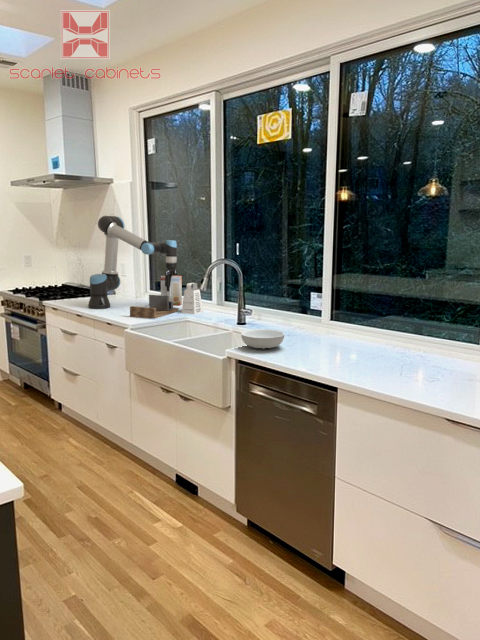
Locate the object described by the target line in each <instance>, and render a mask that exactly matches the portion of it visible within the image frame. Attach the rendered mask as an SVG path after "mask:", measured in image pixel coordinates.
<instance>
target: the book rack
mask: <svg viewBox="0 0 480 640" xmlns="http://www.w3.org/2000/svg"><path fill="white" fill-rule="evenodd" d="M177 312H179V309H178V308H173V309H172V310H169V311H161V310H156V308H149V307H143V306H135V305H134V306H129V317H130V318H139V317H140V318H143V319H151V318H154V319H153V320H156V319H158V317H159V318H161V317H165V316H168V315H171V314H174V313H177ZM140 318H139V319H140ZM155 318H156V319H155Z"/></svg>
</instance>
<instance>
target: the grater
mask: <svg viewBox="0 0 480 640" xmlns="http://www.w3.org/2000/svg"><path fill="white" fill-rule="evenodd" d="M203 310H204V309H203V302H202V297H201V290H200V289H198V283H197V282H189V283H187V284H186V289H184V292H183V297H182V307H181V314H188V315H197V314H201V313H203V312H204V311H203Z"/></svg>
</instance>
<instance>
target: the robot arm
mask: <svg viewBox="0 0 480 640" xmlns="http://www.w3.org/2000/svg"><path fill="white" fill-rule="evenodd" d="M97 227H98V229H99V230H100V231H101V232H102V233H104V236H105V250H104V251H105V253H104V254H105V255H104V267H103V270H102V271H101V273H95V274H91V275H90V277H89V294H90V297H89V301H88V306H87V307H88V308H89V309H96V310H97V309H99V310H102V309H109V308H110V307H111V303H110V300H109V297H108V292H109V291H115V290H117V289H118V288H119V287H120V286H121V278H120V276H119V272H118V271H117V267H118V266H117V265H118V252H119V251H118V250H119V249H118V248H119V241H120V240H121V241H123V242H125V243H126V244H127V245H130V246H132V247H134V248H136V249H138V250H140V251H141V252H142V254H144V255H155V254H156V255H157V254H158V255H159V254H160V255H161V254H163V255H165V268H166V269H167V271H165V272H164V275H165V286H166V287H167V296H171V287H170V283H171V277H172V276H178V270H177V267H178V264H177V261H178V257H177V256H178V254H177V253H178V252H177V251H178V250H177V249H178V248H177V247H178V246H177V240H175V239H174V240H173V239H172V240H171V239H167V240H165V242H154V241H153V242H150V241H148V240H146V239H144V238H142V237H140V236H138V235H137V234H134V233H133V232H131V231H129V230H126V228H125V222H124V220H123V219H122V218H121V217H119V216H116V215H103V216H100V218H99V219H98V220H97Z"/></svg>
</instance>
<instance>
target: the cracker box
mask: <svg viewBox="0 0 480 640" xmlns="http://www.w3.org/2000/svg"><path fill="white" fill-rule="evenodd" d="M182 278H183V277H182V275H177V276H172V277H171V283H170V287H171V296H169V301H173V307H174V306H175V307H178V306H179V307H180V306H181V305H183V295H182V293H183V287H182V285H183V284H182V281H183V279H182ZM160 295H164V296H167V287H166V286H165V274H163V275H161V276H160Z"/></svg>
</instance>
